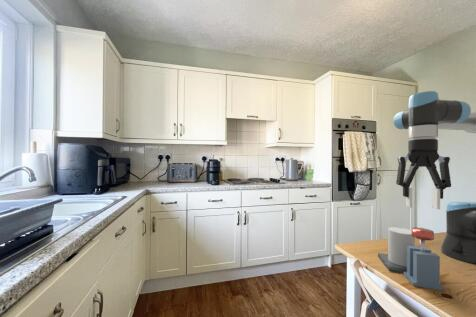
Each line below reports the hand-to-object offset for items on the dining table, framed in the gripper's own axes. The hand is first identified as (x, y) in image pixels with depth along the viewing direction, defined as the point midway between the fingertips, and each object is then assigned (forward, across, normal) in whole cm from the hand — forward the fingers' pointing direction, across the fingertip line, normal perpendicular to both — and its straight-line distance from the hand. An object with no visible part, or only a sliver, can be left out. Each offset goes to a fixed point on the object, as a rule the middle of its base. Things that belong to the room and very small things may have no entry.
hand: (422, 207), depth 71 cm
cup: (+24, +2, -11) cm, 26 cm away
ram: (+18, 0, 0) cm, 18 cm away
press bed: (+25, +2, -11) cm, 27 cm away
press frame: (+25, 0, 0) cm, 25 cm away
